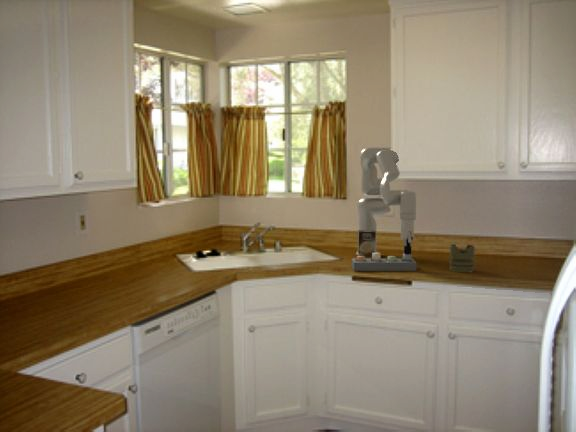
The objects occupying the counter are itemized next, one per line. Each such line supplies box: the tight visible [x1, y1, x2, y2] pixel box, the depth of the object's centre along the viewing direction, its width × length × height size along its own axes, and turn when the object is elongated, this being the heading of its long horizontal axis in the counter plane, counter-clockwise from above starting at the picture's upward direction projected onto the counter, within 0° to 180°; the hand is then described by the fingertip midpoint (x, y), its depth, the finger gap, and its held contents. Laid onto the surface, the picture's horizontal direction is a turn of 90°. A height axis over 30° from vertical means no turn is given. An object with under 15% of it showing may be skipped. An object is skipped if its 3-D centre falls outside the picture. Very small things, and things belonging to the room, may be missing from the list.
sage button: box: [387, 255, 397, 261], centre depth 305 cm, size 4×4×4 cm
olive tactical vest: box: [449, 243, 476, 273], centre depth 299 cm, size 11×12×11 cm
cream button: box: [372, 252, 382, 261], centre depth 305 cm, size 4×4×4 cm
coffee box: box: [357, 229, 377, 258], centre depth 324 cm, size 9×6×16 cm
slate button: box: [402, 253, 412, 261], centre depth 305 cm, size 4×4×4 cm
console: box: [351, 257, 418, 272], centre depth 305 cm, size 12×30×4 cm, turn 89°
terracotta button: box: [356, 255, 365, 261], centre depth 305 cm, size 4×4×4 cm
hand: (407, 254), depth 304 cm, fingers closed
